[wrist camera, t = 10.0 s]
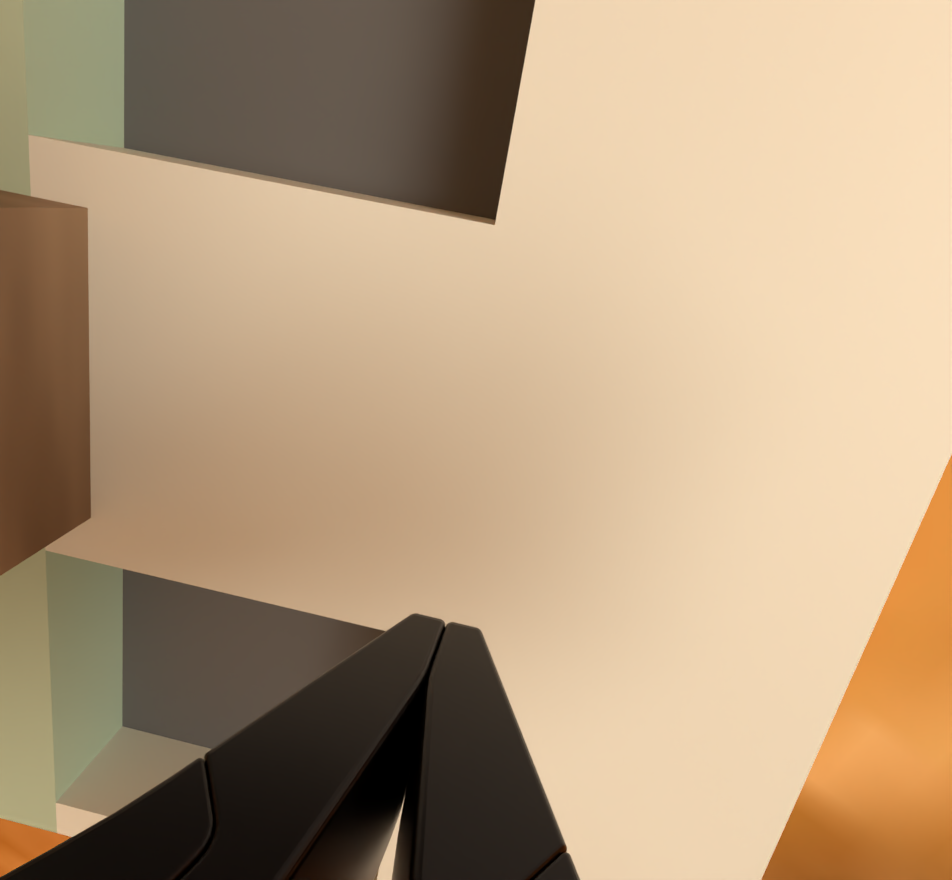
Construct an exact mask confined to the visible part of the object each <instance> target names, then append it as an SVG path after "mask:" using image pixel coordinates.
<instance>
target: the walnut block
mask: <svg viewBox="0 0 952 880" xmlns="http://www.w3.org/2000/svg"><path fill="white" fill-rule="evenodd" d="M90 518H91V479H90V382H89V285H88V208H86V207H81V206H76V205H71V204H66V203H61V202H57V201H52V200H47V199H42V198H37V197H32V196H27V195H23V194H18V193H13V192H8V191H3V190H0V576H1V575H2V574H4V573H6V572H7V571H9V570H10V569H12V568H13V567H15V566H16V565H18V564H20V563H21V562H23V561H24V560H26V559H27V558H29V557H31V556H32V555H34V554H35V553H37V552H38V551H40V550H41V549H43V548H45V547H46V546H48V545H49V544H51V543H52V542H54V541H56V540H57V539H59V538H60V537H62V536H63V535H65V534H66V533H68V532H70V531H71V530H73V529H74V528H76V527H77V526H79V525H81V524H82V523H84V522H85V521H87V520H88V519H90Z"/></svg>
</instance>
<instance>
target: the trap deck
mask: <svg viewBox="0 0 952 880" xmlns="http://www.w3.org/2000/svg"><path fill="white" fill-rule="evenodd" d="M0 190H3V191H8V192H13V193H18V194H23V195H27V196H32V197H37V198H42V199H47V200H52V201H57V202H61V203H66V204H71V205H76V206H81V207H86V208H88V285H89V382H90V479H91V518H90V519H88V520H87V521H85V522H84V523H82V524H81V525H79V526H77V527H76V528H74V529H73V530H71V531H70V532H68V533H66V534H65V535H63V536H62V537H60V538H59V539H57V540H56V541H54V542H52V543H51V544H49V545H48V546H46V547H45V548H43V549H41V550H40V551H38V552H37V553H35V554H34V555H32V556H31V557H29V558H27V559H26V560H24V561H23V562H21V563H20V564H18V565H16V566H15V567H13V568H12V569H10V570H9V571H7V572H6V573H4V574H2V575H1V576H0V818H2V819H6V820H10V821H14V822H17V823H21V824H25V825H29V826H32V827H36V828H40V829H44V830H47V831H51V832H55V833H59V834H62V835H66V836H70V837H73V836H75V835H77V834H78V833H80V832H82V831H84V830H85V829H87V828H89V827H90V826H92V825H94V824H96V823H97V822H99V821H101V820H103V819H104V818H106V817H108V816H109V815H111V814H113V813H115V812H116V811H118V810H119V809H121V808H122V807H124V806H126V805H127V804H129V803H130V802H132V801H133V800H135V799H137V798H138V797H140V796H141V795H143V794H144V793H146V792H147V791H149V790H151V789H152V788H154V787H155V786H157V785H158V784H160V783H162V782H163V781H165V780H166V779H168V778H169V777H171V776H172V775H174V774H175V773H177V772H178V771H180V770H181V769H183V768H184V767H185V766H187V765H188V764H190V763H191V762H193V761H194V760H196V759H197V758H203V759H204V755H205V754H206V753H207V752H208V751H210V750H211V749H213V748H214V747H216V746H217V745H219V744H220V743H221V742H223V741H224V740H226V739H227V738H229V737H230V736H232V735H233V734H235V733H236V732H238V731H239V730H241V729H242V728H244V727H245V726H247V725H248V724H250V723H251V722H252V721H254V720H255V719H257V718H258V717H260V716H261V715H263V714H264V713H266V712H267V711H269V710H270V709H272V708H273V707H275V706H276V705H278V704H279V703H281V702H282V701H283V700H285V699H286V698H288V697H289V696H291V695H292V694H294V693H295V692H297V691H298V690H300V689H301V688H303V687H304V686H306V685H307V684H309V683H310V682H312V681H313V680H315V679H316V678H317V677H319V676H320V675H322V674H323V673H325V672H326V671H328V670H329V669H331V668H332V667H334V666H335V665H337V664H338V663H340V662H341V661H343V660H344V659H346V658H347V657H348V656H350V655H351V654H353V653H354V652H356V651H357V650H359V649H360V648H362V647H363V646H365V645H366V644H368V643H369V642H371V641H372V640H374V639H375V638H377V637H378V636H379V635H381V634H382V633H384V632H385V631H387V630H388V629H390V628H391V627H393V626H394V625H396V624H397V623H399V622H400V621H402V620H403V619H405V618H406V617H408V616H409V615H411V614H413V613H418V614H422V615H426V616H430V617H435V618H439V619H442V620H443V621H444V622H445V627H446V625H447V624H448V623H450V622H456V623H460V624H464V625H469V626H473V627H477V628H479V629H480V630H481V631H482V633H483V636H484V638H485V641H486V643H487V646H488V648H489V651H490V653H491V656H492V659H493V661H494V664H495V666H496V669H497V671H498V674H499V676H500V679H501V681H502V684H503V686H504V689H505V691H506V694H507V697H508V699H509V702H510V704H511V707H512V709H513V712H514V714H515V717H516V719H517V722H518V724H519V727H520V729H521V732H522V734H523V737H524V740H525V742H526V745H527V747H528V750H529V752H530V755H531V757H532V760H533V762H534V765H535V767H536V770H537V772H538V775H539V778H540V780H541V783H542V785H543V788H544V790H545V793H546V795H547V798H548V800H549V803H550V805H551V808H552V810H553V813H554V815H555V818H556V821H557V823H558V826H559V828H560V831H561V833H562V836H563V838H564V841H565V843H566V846H567V853H569V854H570V855H571V858H572V860H573V863H574V865H575V868H576V870H577V873H578V875H579V878H580V880H761V879H762V877H763V874H764V872H765V870H766V868H767V865H768V863H769V861H770V859H771V856H772V854H773V852H774V850H775V848H776V845H777V843H778V841H779V839H780V836H781V834H782V832H783V830H784V827H785V825H786V823H787V821H788V818H789V816H790V814H791V812H792V810H793V807H794V805H795V803H796V801H797V798H798V796H799V794H800V792H801V789H802V787H803V785H804V783H805V780H806V778H807V776H808V774H809V772H810V769H811V767H812V765H813V763H814V760H815V758H816V756H817V754H818V751H819V749H820V747H821V745H822V742H823V740H824V738H825V736H826V734H827V731H828V729H829V727H830V725H831V722H832V720H833V718H834V716H835V713H836V711H837V709H838V707H839V705H840V702H841V700H842V698H843V696H844V693H845V691H846V689H847V687H848V684H849V682H850V680H851V678H852V675H853V673H854V671H855V669H856V667H857V664H858V662H859V660H860V658H861V655H862V653H863V651H864V649H865V646H866V644H867V642H868V640H869V637H870V635H871V633H872V631H873V629H874V626H875V624H876V622H877V620H878V617H879V615H880V613H881V611H882V608H883V606H884V604H885V602H886V600H887V597H888V595H889V593H890V591H891V588H892V586H893V584H894V582H895V579H896V577H897V575H898V573H899V570H900V568H901V566H902V564H903V562H904V559H905V557H906V555H907V553H908V550H909V548H910V546H911V544H912V541H913V539H914V537H915V535H916V532H917V530H918V528H919V526H920V524H921V521H922V519H923V517H924V515H925V512H926V510H927V508H928V506H929V503H930V501H931V499H932V497H933V495H934V492H935V490H936V488H937V486H938V483H939V481H940V479H941V477H942V474H943V472H944V470H945V468H946V465H947V463H948V461H949V459H950V457H951V454H952V0H0ZM403 803H404V801H403ZM402 808H403V804H402ZM402 808H401V811H400V815H399V817H398V820H397V823H396V825H395V828H394V831H393V834H392V836H391V839H390V841H389V844H388V846H387V849H386V851H385V854H384V856H383V859H382V861H381V864H380V866H379V869H378V871H377V874H376V877H375V879H374V880H392V873H393V866H394V859H395V851H396V844H397V837H398V831H399V825H400V819H401V814H402Z"/></svg>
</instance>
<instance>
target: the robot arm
mask: <svg viewBox="0 0 952 880" xmlns="http://www.w3.org/2000/svg"><path fill="white" fill-rule="evenodd" d="M403 801H404V803H403ZM402 804H403V808H402ZM401 808H402V814H401V819H400V825H399V831H398V837H397V844H396V851H395V859H394V866H393V873H392V880H580V878H579V875H578V873H577V870H576V868H575V865H574V863H573V860H572V858H571V855H570V854H569V853H567V846H566V843H565V841H564V838H563V836H562V833H561V831H560V828H559V826H558V823H557V821H556V818H555V815H554V813H553V810H552V808H551V805H550V803H549V800H548V798H547V795H546V793H545V790H544V788H543V785H542V783H541V780H540V778H539V775H538V772H537V770H536V767H535V765H534V762H533V760H532V757H531V755H530V752H529V750H528V747H527V745H526V742H525V740H524V737H523V734H522V732H521V729H520V727H519V724H518V722H517V719H516V717H515V714H514V712H513V709H512V707H511V704H510V702H509V699H508V697H507V694H506V691H505V689H504V686H503V684H502V681H501V679H500V676H499V674H498V671H497V669H496V666H495V664H494V661H493V659H492V656H491V653H490V651H489V648H488V646H487V643H486V641H485V638H484V636H483V633H482V631H481V630H480V629H479V628H477V627H473V626H469V625H464V624H460V623H456V622H450V623H448V624H447V625H446V627H445V622H444V621H443V620H442V619H439V618H435V617H430V616H426V615H422V614H418V613H413V614H411V615H409V616H408V617H406V618H405V619H403V620H402V621H400V622H399V623H397V624H396V625H394V626H393V627H391V628H390V629H388V630H387V631H385V632H384V633H382V634H381V635H379V636H378V637H377V638H375V639H374V640H372V641H371V642H369V643H368V644H366V645H365V646H363V647H362V648H360V649H359V650H357V651H356V652H354V653H353V654H351V655H350V656H348V657H347V658H346V659H344V660H343V661H341V662H340V663H338V664H337V665H335V666H334V667H332V668H331V669H329V670H328V671H326V672H325V673H323V674H322V675H320V676H319V677H317V678H316V679H315V680H313V681H312V682H310V683H309V684H307V685H306V686H304V687H303V688H301V689H300V690H298V691H297V692H295V693H294V694H292V695H291V696H289V697H288V698H286V699H285V700H283V701H282V702H281V703H279V704H278V705H276V706H275V707H273V708H272V709H270V710H269V711H267V712H266V713H264V714H263V715H261V716H260V717H258V718H257V719H255V720H254V721H252V722H251V723H250V724H248V725H247V726H245V727H244V728H242V729H241V730H239V731H238V732H236V733H235V734H233V735H232V736H230V737H229V738H227V739H226V740H224V741H223V742H221V743H220V744H219V745H217V746H216V747H214V748H213V749H211V750H210V751H208V752H207V753H206V754H205V755H204V759H203V758H197V759H196V760H194V761H193V762H191V763H190V764H188V765H187V766H185V767H184V768H183V769H181V770H180V771H178V772H177V773H175V774H174V775H172V776H171V777H169V778H168V779H166V780H165V781H163V782H162V783H160V784H158V785H157V786H155V787H154V788H152V789H151V790H149V791H147V792H146V793H144V794H143V795H141V796H140V797H138V798H137V799H135V800H133V801H132V802H130V803H129V804H127V805H126V806H124V807H122V808H121V809H119V810H118V811H116V812H115V813H113V814H111V815H109V816H108V817H106V818H104V819H103V820H101V821H99V822H97V823H96V824H94V825H92V826H90V827H89V828H87V829H85V830H84V831H82V832H80V833H78V834H77V835H75V836H73V837H71V838H70V839H68V840H66V841H64V842H63V843H61V844H59V845H58V846H56V847H54V848H52V849H51V850H49V851H47V852H45V853H43V854H42V855H40V856H38V857H36V858H34V859H33V860H31V861H29V862H27V863H25V864H23V865H22V866H20V867H18V868H16V869H14V870H13V871H11V872H9V873H7V874H5V875H3V876H2V877H0V880H374V879H375V877H376V874H377V871H378V869H379V866H380V864H381V861H382V859H383V856H384V854H385V851H386V849H387V846H388V844H389V841H390V839H391V836H392V834H393V831H394V828H395V825H396V823H397V820H398V817H399V815H400V811H401Z"/></svg>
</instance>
